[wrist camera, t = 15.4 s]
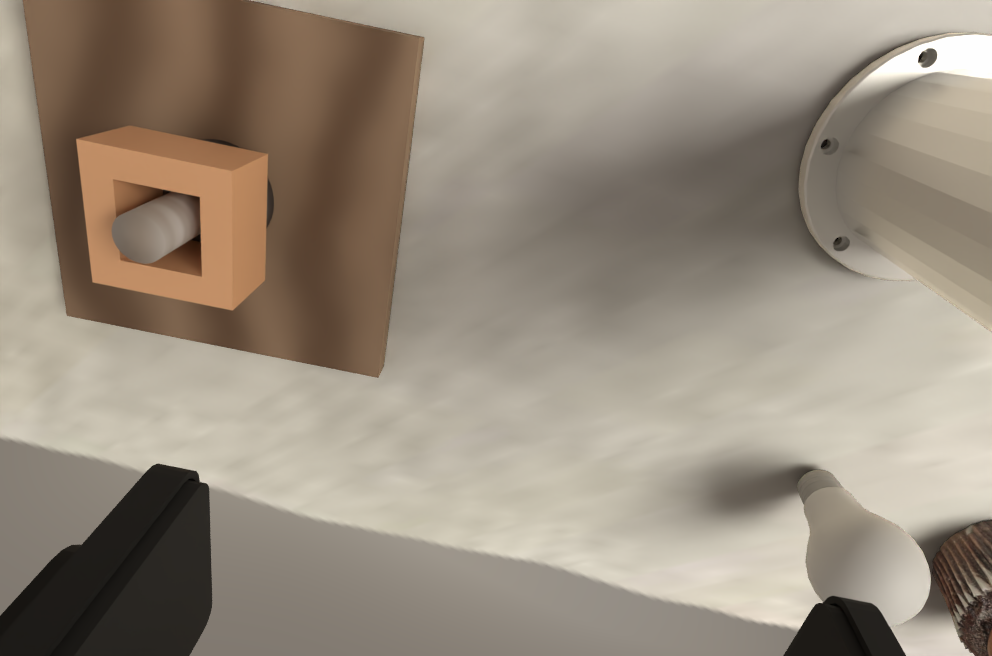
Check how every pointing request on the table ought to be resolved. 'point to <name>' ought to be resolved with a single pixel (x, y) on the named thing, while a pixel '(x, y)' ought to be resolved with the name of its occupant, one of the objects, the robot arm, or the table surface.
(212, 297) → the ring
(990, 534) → the cupcake
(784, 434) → the table surface
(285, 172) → the post stand
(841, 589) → the lightbulb
